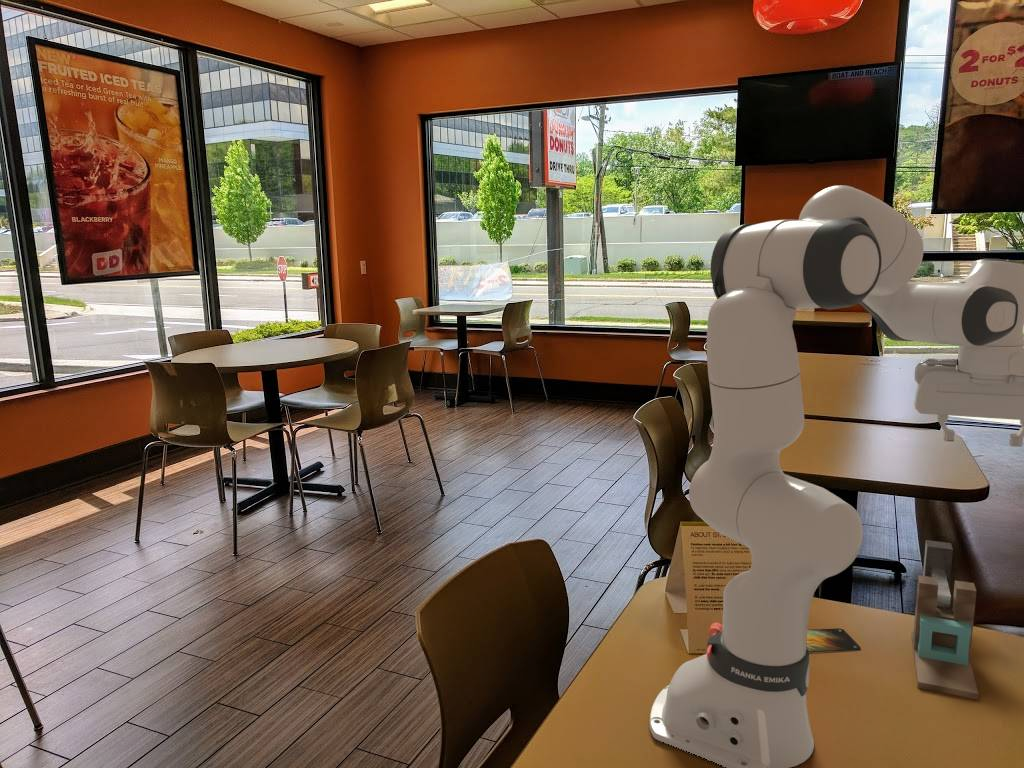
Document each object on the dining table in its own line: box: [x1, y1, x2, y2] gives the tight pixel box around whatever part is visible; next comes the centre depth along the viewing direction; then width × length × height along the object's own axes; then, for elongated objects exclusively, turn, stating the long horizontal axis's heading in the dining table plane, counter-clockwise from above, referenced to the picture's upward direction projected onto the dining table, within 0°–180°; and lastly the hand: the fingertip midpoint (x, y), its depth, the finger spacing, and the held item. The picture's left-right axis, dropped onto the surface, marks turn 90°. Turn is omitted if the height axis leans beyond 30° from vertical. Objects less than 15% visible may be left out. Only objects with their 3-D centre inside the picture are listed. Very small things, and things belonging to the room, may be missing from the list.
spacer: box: [917, 615, 971, 666], centre depth 120 cm, size 7×2×6 cm, turn 65°
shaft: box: [922, 539, 954, 609], centre depth 128 cm, size 4×14×7 cm, turn 155°
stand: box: [910, 574, 979, 701], centre depth 118 cm, size 8×16×13 cm, turn 155°
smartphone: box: [806, 627, 862, 654], centre depth 128 cm, size 7×1×15 cm
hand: (981, 443), depth 121 cm, fingers open, 8 cm apart
